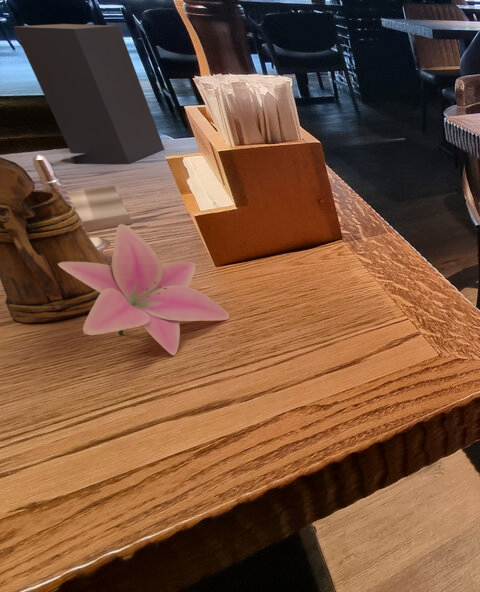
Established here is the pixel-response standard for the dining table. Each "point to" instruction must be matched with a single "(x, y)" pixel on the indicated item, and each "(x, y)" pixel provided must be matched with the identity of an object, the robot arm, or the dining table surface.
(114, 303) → the lily
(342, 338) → the dining table surface
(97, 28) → the pedestal
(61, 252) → the wooden mug
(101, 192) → the board
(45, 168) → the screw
